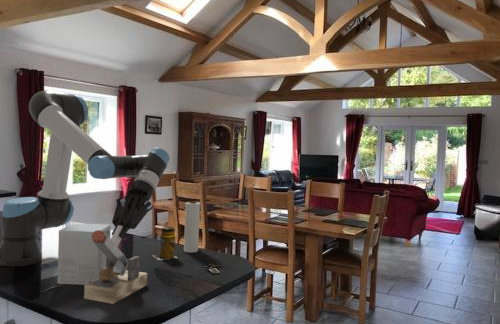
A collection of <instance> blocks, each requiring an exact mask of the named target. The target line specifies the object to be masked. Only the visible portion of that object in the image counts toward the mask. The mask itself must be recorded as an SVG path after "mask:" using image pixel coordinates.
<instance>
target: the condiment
mask: <svg viewBox="0 0 500 324" xmlns="http://www.w3.org/2000/svg"><path fill="white" fill-rule="evenodd" d="M159 241H160V242H159V254H152V255H151V256H152V257H153V258H154V259H155V258H156V260H157V261H164V260H171V259H170V258H173V259H174V258H175V259H178V256H175V253H176V252H175V251H176V234H175V227H170V226H165V227H162V228H161V234H160V239H159ZM160 258H163V259H160ZM173 259H172V260H173Z"/></svg>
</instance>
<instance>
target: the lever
mask: <svg viewBox="0 0 500 324" xmlns="http://www.w3.org/2000/svg"><path fill="white" fill-rule="evenodd" d="M91 238H92V240H93V243H94V244H95V245H96V246H97V247H98V248H99V249H100V250H101V251H102V253H103V254H104V255H105V256H106V257H107V258H108V259H109V260H110V261H111V262H112V263H113V265H115V266H114V268H113V272H114V274H115V275H120V276H124V274H125V271H126V270H128V259H129V258H127V257H126V255H125V254H124V253H123V252H122V250H120V248H119V246H116V245H115V244H114V243H113V241H112V240H111V237H110V238H109V237H108V236H105V235H104V233H103V232H102V231H100V230H97V231H95V232H93V234H92V237H91Z"/></svg>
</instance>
